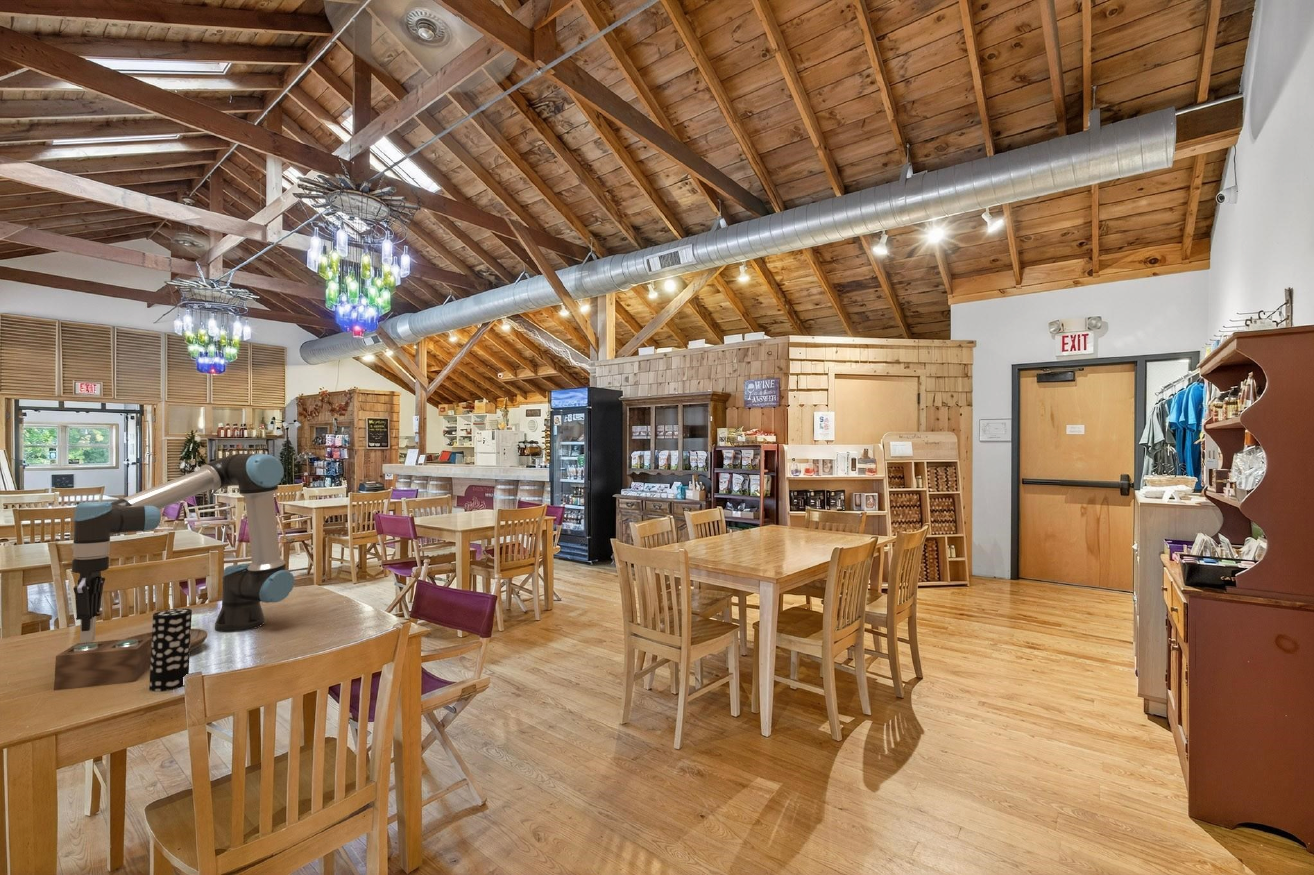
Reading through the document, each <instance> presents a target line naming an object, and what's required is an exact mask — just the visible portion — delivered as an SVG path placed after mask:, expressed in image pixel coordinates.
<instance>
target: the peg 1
mask: <svg viewBox="0 0 1314 875" xmlns="http://www.w3.org/2000/svg"><path fill="white" fill-rule="evenodd" d="M85 643H86V642H85ZM96 648H98V644H97V643H86V644H81V645H77V646H75V647H74V651H86V650H95V649H96Z"/></svg>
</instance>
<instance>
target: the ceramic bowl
mask: <svg viewBox="0 0 1314 875" xmlns="http://www.w3.org/2000/svg"><path fill="white" fill-rule="evenodd" d="M145 637H152V631H151V632H147V633H141V634H137V635H134V636H131V637H126V638H125V639H133V638H145ZM207 638H208V631H207V630H205V629H202V628H191V638H190V651H192V650H195V649H196V648H197V647H200V646H201V645H202V644H203V643H204V642H205V641H206V639H207Z"/></svg>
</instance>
